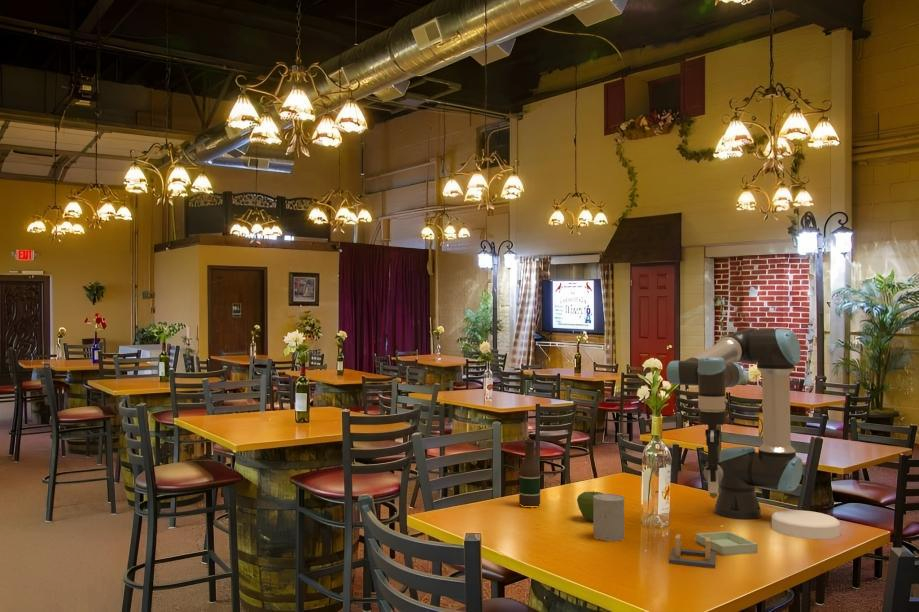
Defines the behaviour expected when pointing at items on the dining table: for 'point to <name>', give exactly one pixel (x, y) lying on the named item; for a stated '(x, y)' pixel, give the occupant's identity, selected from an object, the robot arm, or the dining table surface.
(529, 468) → the beer bottle
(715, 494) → the light bulb
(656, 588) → the dining table surface
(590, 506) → the apple
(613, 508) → the gray cylinder
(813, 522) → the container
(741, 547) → the parts tray
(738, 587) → the dining table surface
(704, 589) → the dining table surface
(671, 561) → the frame
